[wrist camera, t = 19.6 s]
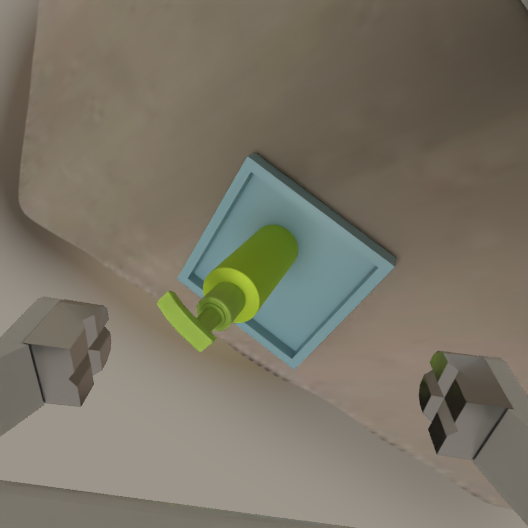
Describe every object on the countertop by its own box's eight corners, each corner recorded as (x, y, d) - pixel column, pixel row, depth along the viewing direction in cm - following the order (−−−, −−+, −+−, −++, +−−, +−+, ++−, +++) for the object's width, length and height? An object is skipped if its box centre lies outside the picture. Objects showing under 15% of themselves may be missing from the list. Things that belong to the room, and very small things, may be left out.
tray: (396, 257, 44) (394, 266, 42) (299, 358, 54) (294, 369, 52) (255, 152, 45) (247, 156, 43) (186, 271, 55) (177, 279, 53)
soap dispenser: (268, 208, 46) (178, 279, 29) (308, 250, 47) (241, 346, 30) (238, 237, 49) (140, 318, 32) (275, 277, 50) (198, 378, 33)
